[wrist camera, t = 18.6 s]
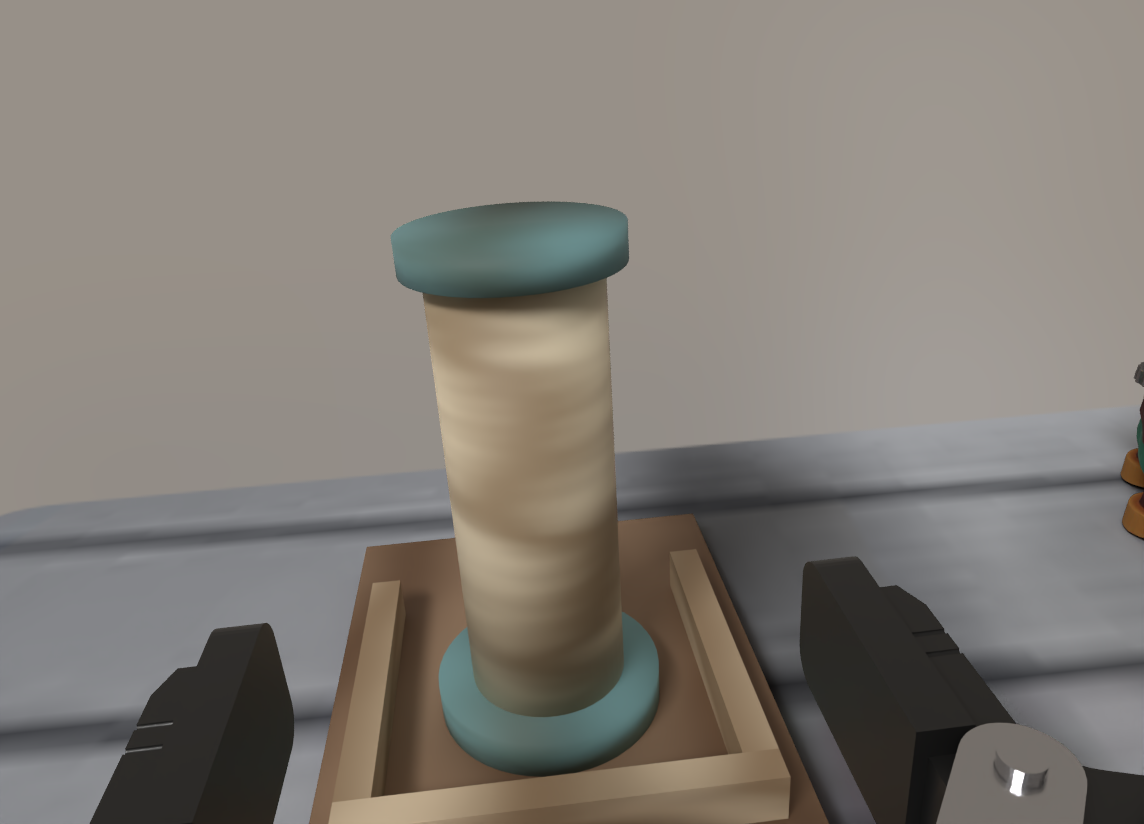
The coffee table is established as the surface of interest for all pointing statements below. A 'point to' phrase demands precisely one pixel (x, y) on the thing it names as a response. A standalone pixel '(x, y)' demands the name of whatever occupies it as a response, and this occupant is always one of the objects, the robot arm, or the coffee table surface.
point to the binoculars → (1136, 473)
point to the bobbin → (531, 482)
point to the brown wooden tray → (578, 800)
